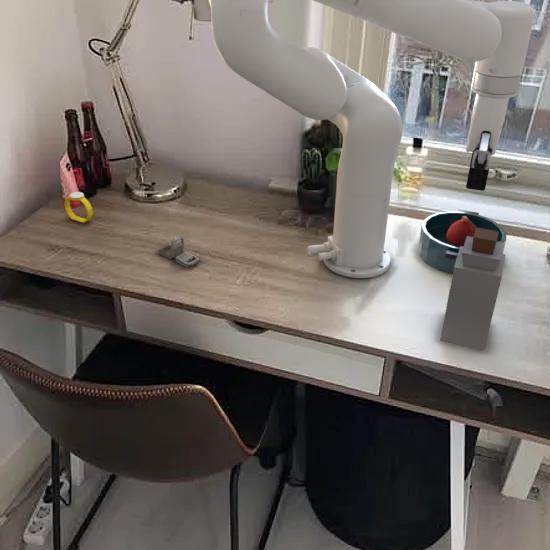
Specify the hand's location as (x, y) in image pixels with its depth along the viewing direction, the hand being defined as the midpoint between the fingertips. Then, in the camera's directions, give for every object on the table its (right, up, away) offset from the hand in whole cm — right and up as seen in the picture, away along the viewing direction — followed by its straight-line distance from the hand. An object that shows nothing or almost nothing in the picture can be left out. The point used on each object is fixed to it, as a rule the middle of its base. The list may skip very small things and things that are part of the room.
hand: (476, 178), depth 116 cm
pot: (-1, -14, +8) cm, 16 cm away
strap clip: (-54, -14, +6) cm, 57 cm away
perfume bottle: (-6, -27, -12) cm, 30 cm away
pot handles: (-1, -10, +6) cm, 12 cm away
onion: (-1, -13, +8) cm, 16 cm away
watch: (-76, -6, +18) cm, 79 cm away
